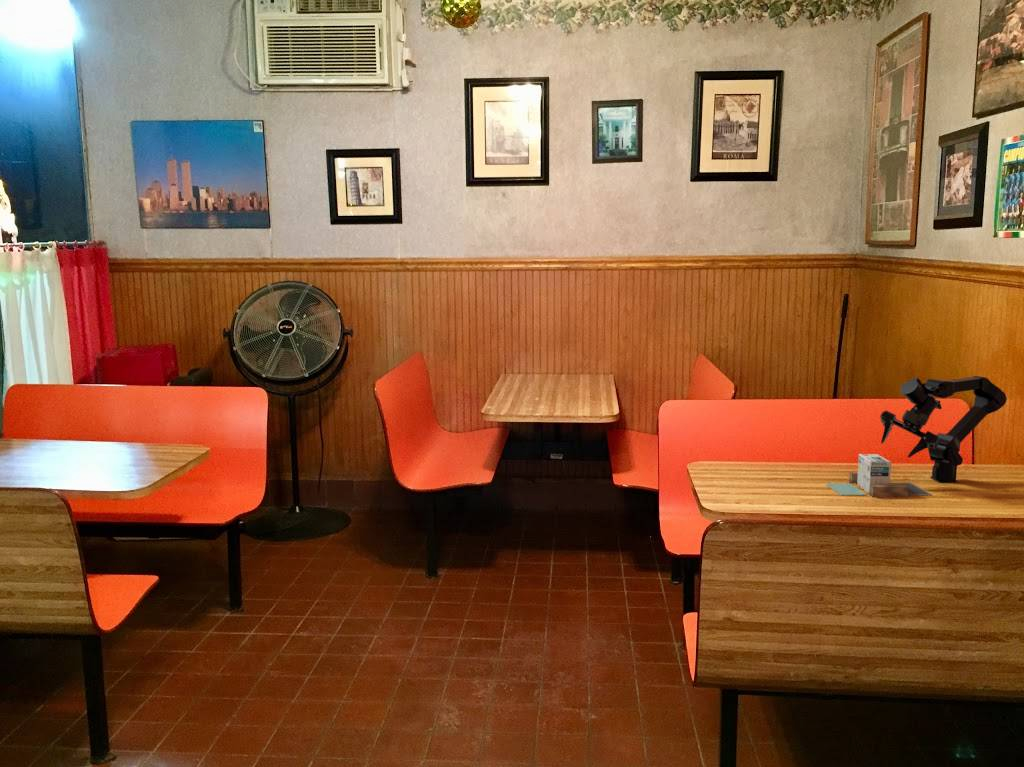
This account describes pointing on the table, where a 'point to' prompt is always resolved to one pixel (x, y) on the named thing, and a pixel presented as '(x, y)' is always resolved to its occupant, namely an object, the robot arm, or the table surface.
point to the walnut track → (882, 488)
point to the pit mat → (913, 489)
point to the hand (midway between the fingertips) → (894, 450)
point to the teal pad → (845, 489)
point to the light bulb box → (873, 471)
